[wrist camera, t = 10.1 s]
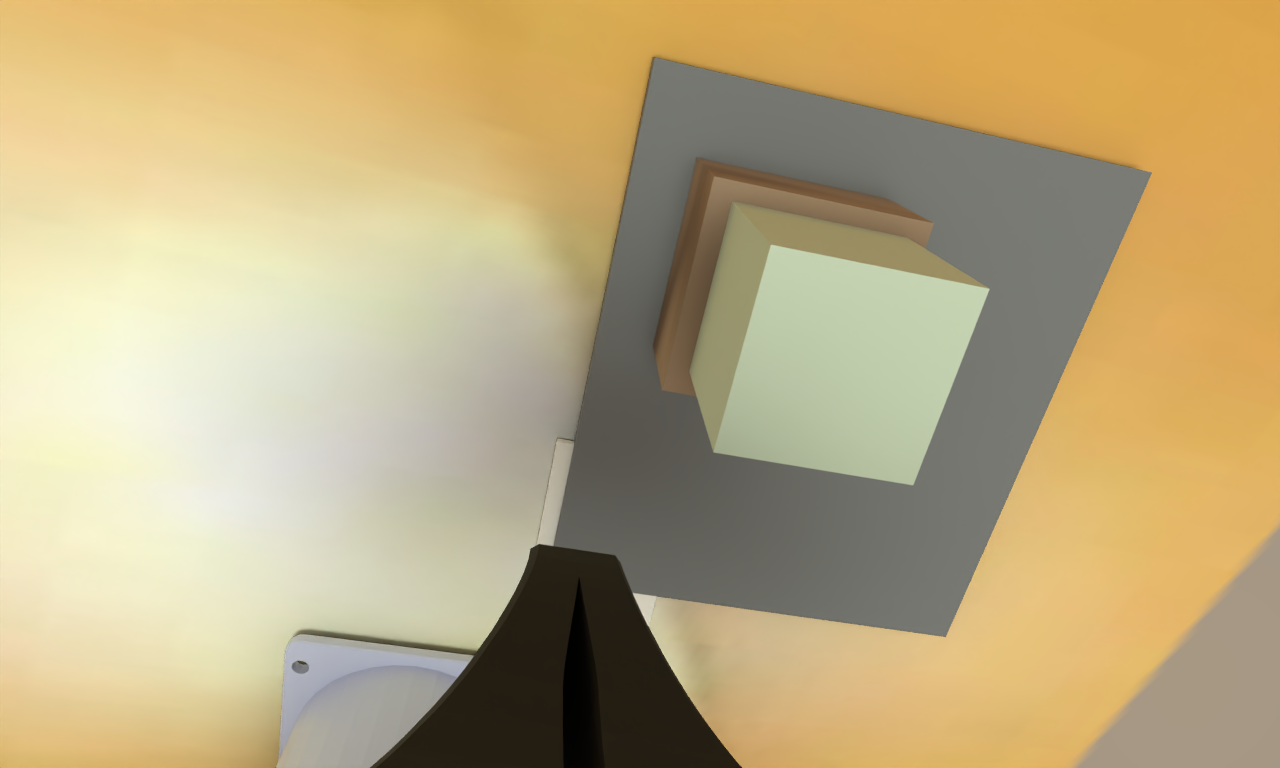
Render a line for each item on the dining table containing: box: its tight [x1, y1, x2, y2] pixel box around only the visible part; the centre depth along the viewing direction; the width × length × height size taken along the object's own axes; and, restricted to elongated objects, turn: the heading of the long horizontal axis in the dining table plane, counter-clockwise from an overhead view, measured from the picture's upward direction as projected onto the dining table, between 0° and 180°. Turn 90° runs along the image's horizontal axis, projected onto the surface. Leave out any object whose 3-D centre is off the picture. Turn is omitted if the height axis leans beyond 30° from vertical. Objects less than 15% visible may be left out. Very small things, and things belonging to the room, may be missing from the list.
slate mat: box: [554, 57, 1152, 637], centre depth 23 cm, size 15×13×1 cm
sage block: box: [689, 201, 989, 485], centre depth 16 cm, size 4×4×4 cm
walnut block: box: [653, 158, 934, 396], centre depth 20 cm, size 5×5×3 cm
